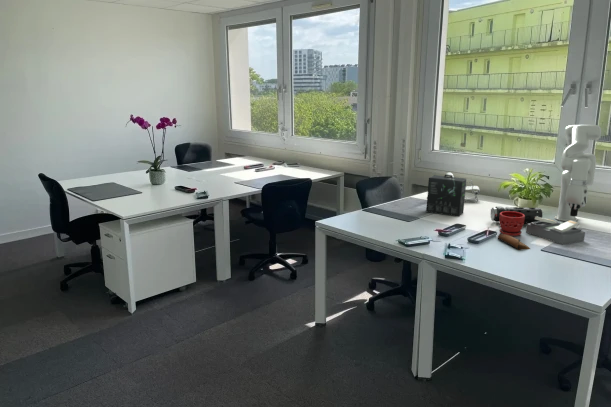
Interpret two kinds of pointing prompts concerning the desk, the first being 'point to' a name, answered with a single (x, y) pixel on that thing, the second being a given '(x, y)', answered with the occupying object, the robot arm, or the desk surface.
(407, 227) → the desk surface
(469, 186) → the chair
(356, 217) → the desk surface
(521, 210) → the muzzle brake
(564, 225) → the rocker
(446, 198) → the headset box
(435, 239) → the desk surface
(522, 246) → the brown pointed cylinder
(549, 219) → the plate
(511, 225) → the plant pot
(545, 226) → the panel
